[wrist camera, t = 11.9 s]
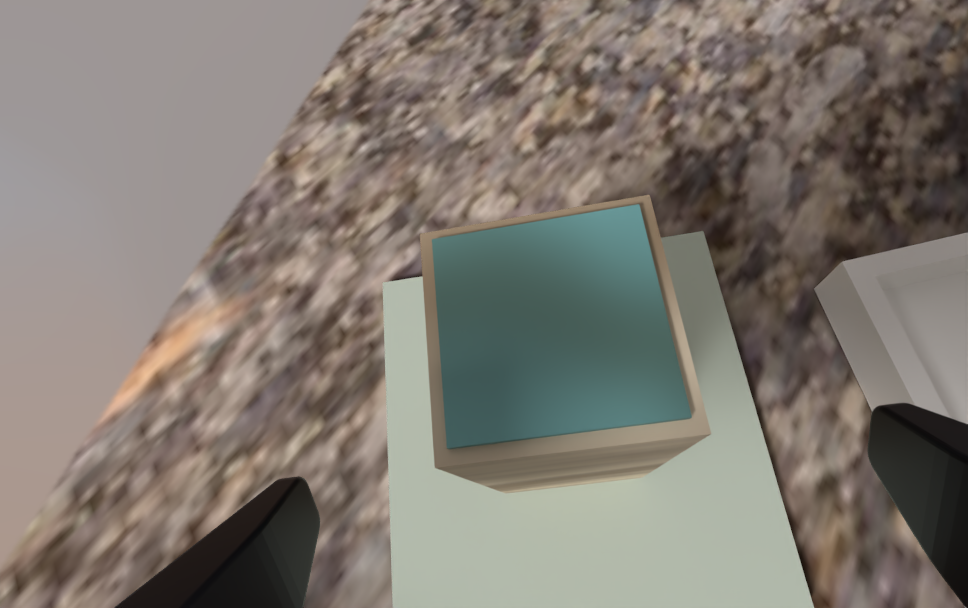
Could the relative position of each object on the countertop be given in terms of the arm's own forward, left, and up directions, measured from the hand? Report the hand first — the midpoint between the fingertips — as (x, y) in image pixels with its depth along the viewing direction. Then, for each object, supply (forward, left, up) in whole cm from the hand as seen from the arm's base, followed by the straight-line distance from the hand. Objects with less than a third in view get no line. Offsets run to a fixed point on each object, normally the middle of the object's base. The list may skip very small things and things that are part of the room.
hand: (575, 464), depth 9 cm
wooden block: (+3, 0, -12) cm, 12 cm away
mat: (+3, 0, -13) cm, 13 cm away
